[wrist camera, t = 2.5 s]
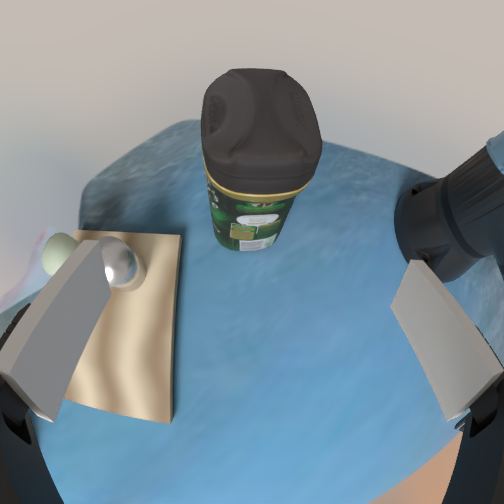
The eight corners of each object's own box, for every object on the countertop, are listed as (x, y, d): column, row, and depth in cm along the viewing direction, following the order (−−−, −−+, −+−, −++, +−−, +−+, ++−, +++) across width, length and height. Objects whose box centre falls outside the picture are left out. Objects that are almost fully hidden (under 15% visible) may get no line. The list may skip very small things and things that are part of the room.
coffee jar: (209, 180, 33) (200, 57, 15) (272, 178, 34) (310, 60, 16) (212, 256, 31) (194, 167, 13) (282, 252, 32) (346, 166, 14)
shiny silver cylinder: (149, 253, 29) (131, 237, 23) (144, 293, 27) (125, 286, 22) (113, 251, 28) (91, 234, 22) (108, 289, 27) (83, 281, 21)
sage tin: (102, 250, 28) (78, 233, 22) (96, 288, 27) (70, 278, 21) (73, 247, 28) (47, 231, 22) (67, 283, 27) (38, 273, 21)
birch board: (182, 239, 31) (180, 235, 29) (173, 419, 26) (170, 423, 24) (80, 233, 30) (74, 229, 28) (69, 395, 24) (63, 398, 23)
